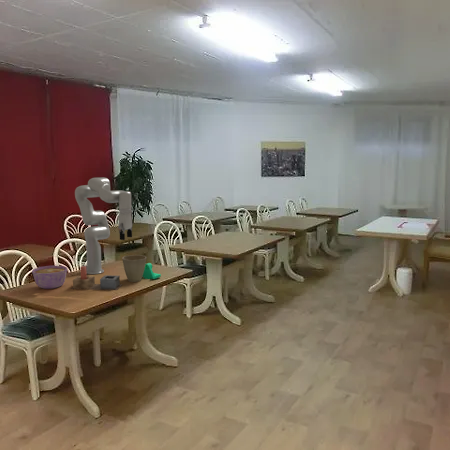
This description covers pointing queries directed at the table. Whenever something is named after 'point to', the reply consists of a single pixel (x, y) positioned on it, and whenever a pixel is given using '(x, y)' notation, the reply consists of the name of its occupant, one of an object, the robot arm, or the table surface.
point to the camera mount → (150, 272)
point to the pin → (83, 272)
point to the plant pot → (134, 267)
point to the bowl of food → (49, 276)
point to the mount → (84, 282)
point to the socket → (109, 282)
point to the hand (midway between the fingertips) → (125, 238)
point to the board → (97, 287)
